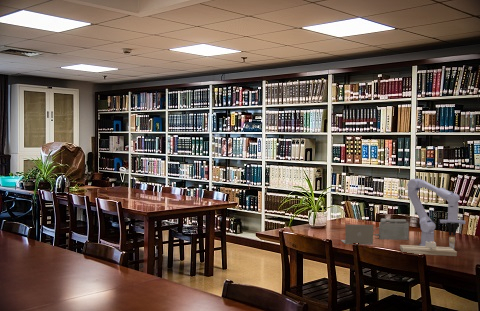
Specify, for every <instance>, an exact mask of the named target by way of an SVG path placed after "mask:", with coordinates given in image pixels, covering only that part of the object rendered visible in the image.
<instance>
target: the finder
mask: <svg viewBox="0 0 480 311" xmlns="http://www.w3.org/2000/svg"><path fill="white" fill-rule="evenodd" d="M426 247H427V248H436V247H437V243H436V242H435V240H434V241H426Z"/></svg>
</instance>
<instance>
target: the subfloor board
mask: <svg viewBox="0 0 480 311" xmlns="http://www.w3.org/2000/svg"><path fill="white" fill-rule="evenodd" d="M399 250H400V251H401V253H403V252H407V253H414V254H413V255H423V254H425V255H426V256H428V255H429V256H443V257H445V256H448V257H457V256H458V255H457V254H458V251H456V250H455V248H454V249H452V248H451V247H449V246H436V248H427V247H426V246H421V245H407V244H399Z"/></svg>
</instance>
